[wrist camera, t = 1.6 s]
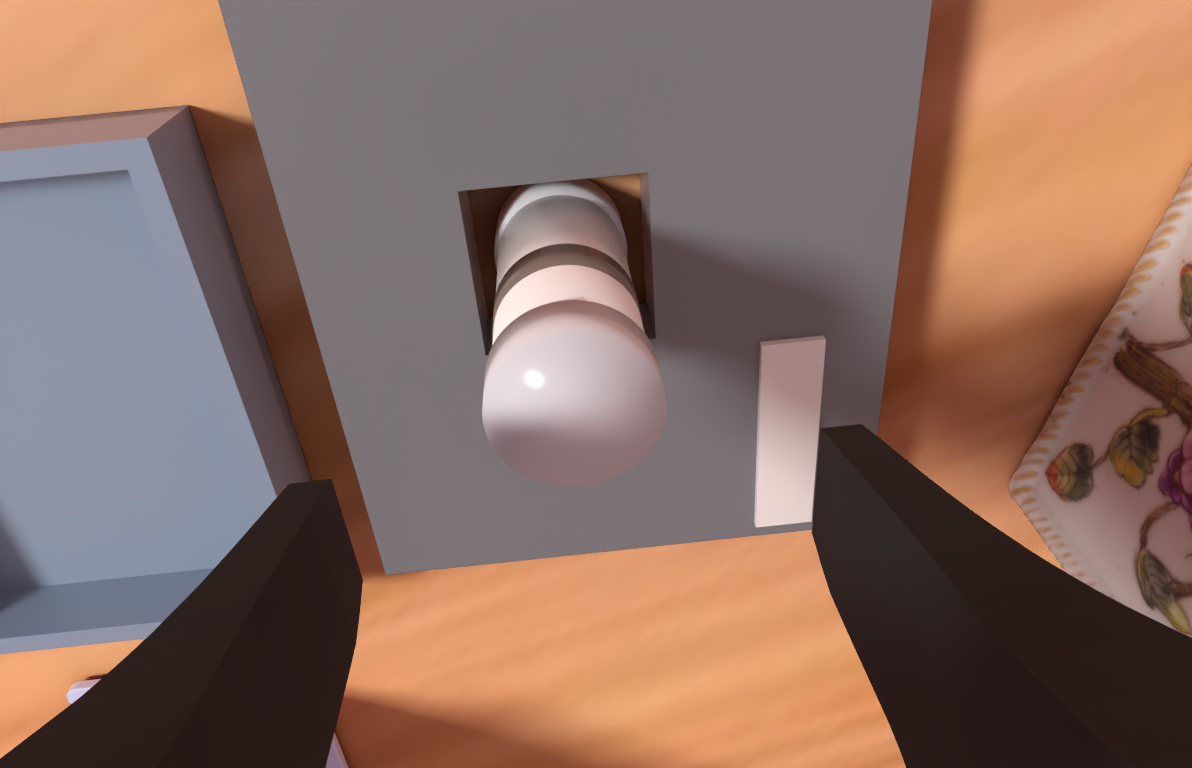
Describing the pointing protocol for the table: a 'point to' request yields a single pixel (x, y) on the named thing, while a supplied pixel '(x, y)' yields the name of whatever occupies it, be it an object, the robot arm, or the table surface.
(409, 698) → the table surface
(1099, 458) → the decorative jar
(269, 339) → the table surface
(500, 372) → the white light bulb
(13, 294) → the tray
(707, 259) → the light bulb socket board
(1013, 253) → the table surface
